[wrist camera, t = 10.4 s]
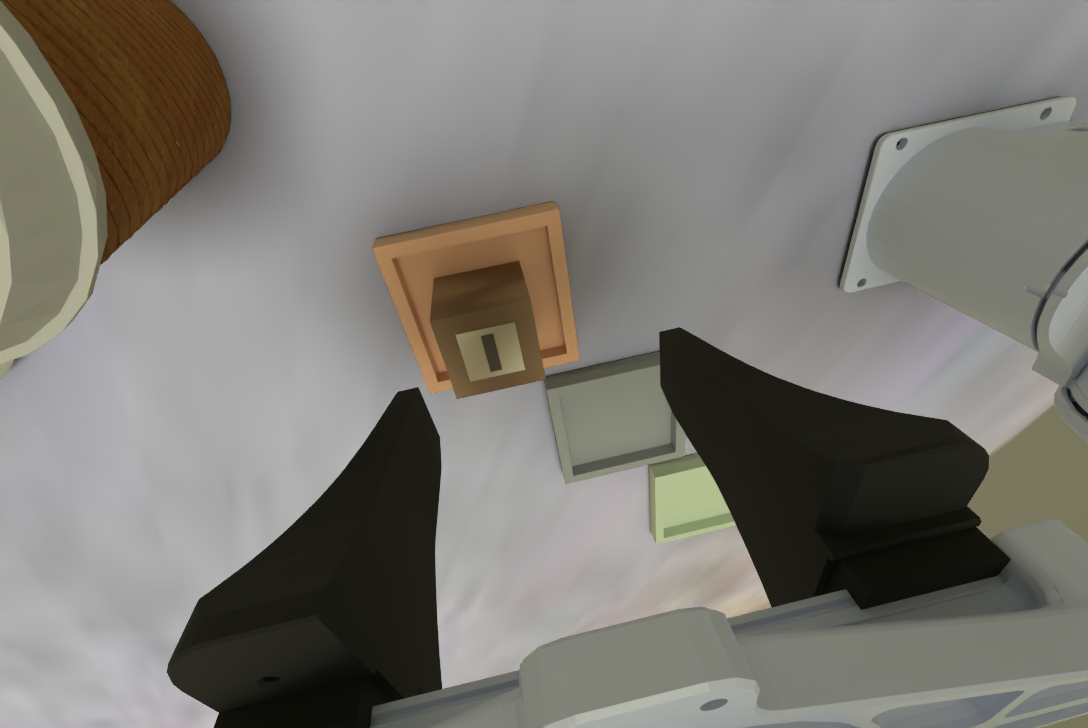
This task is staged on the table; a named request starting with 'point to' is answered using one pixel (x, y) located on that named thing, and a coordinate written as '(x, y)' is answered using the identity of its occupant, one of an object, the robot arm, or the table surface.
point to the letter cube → (486, 329)
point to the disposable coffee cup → (92, 144)
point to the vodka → (5, 367)
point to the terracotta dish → (478, 246)
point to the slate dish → (612, 418)
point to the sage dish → (685, 500)
